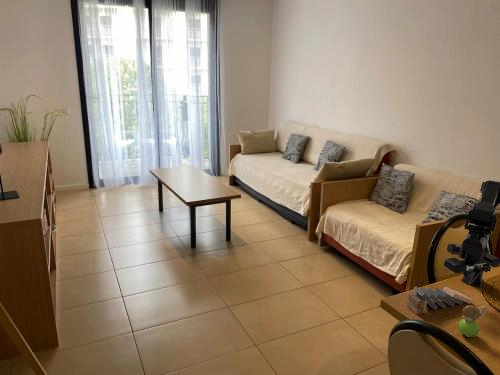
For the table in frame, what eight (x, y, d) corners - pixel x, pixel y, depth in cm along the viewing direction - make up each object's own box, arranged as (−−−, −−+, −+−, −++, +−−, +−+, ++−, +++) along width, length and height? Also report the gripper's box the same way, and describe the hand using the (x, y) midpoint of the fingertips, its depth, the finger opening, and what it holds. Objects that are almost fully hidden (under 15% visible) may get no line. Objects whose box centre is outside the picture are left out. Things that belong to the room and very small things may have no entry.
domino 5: (462, 293, 136) (444, 286, 132) (472, 300, 132) (454, 293, 128) (460, 296, 136) (442, 289, 132) (470, 303, 132) (452, 296, 128)
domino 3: (445, 296, 134) (429, 287, 130) (455, 303, 130) (438, 294, 126) (443, 299, 134) (427, 290, 130) (453, 307, 130) (436, 297, 126)
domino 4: (453, 295, 135) (436, 287, 131) (463, 302, 131) (446, 294, 127) (451, 298, 135) (434, 290, 131) (461, 305, 131) (444, 297, 127)
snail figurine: (483, 342, 113) (491, 308, 109) (460, 339, 114) (467, 305, 110) (476, 331, 118) (484, 297, 114) (454, 328, 119) (461, 295, 115)
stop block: (414, 305, 130) (416, 292, 129) (423, 312, 126) (425, 300, 125) (406, 306, 130) (408, 294, 128) (415, 314, 126) (417, 301, 124)
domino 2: (437, 298, 133) (422, 286, 129) (446, 305, 129) (431, 293, 125) (434, 301, 133) (419, 290, 129) (444, 308, 129) (428, 297, 125)
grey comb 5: (429, 300, 132) (415, 286, 128) (438, 307, 128) (424, 293, 124) (426, 303, 132) (412, 289, 128) (435, 310, 128) (421, 296, 124)
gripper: (478, 231, 137) (470, 269, 142) (435, 236, 132) (428, 276, 137) (505, 244, 127) (496, 285, 131) (461, 251, 122) (452, 293, 126)
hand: (467, 284), depth 132 cm, fingers closed
